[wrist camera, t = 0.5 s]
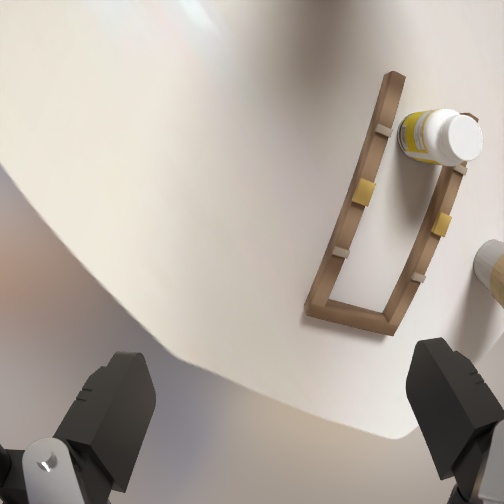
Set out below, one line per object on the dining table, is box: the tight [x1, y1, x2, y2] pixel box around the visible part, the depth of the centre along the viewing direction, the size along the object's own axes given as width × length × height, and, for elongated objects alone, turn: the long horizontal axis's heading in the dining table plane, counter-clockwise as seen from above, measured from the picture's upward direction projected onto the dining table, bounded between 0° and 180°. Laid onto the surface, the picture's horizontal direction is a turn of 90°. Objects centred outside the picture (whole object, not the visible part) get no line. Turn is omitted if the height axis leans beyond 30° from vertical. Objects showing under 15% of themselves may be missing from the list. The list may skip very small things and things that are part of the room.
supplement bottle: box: [398, 109, 483, 166], centre depth 26 cm, size 5×5×10 cm
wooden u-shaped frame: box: [304, 71, 478, 336], centre depth 32 cm, size 28×12×3 cm, turn 163°
